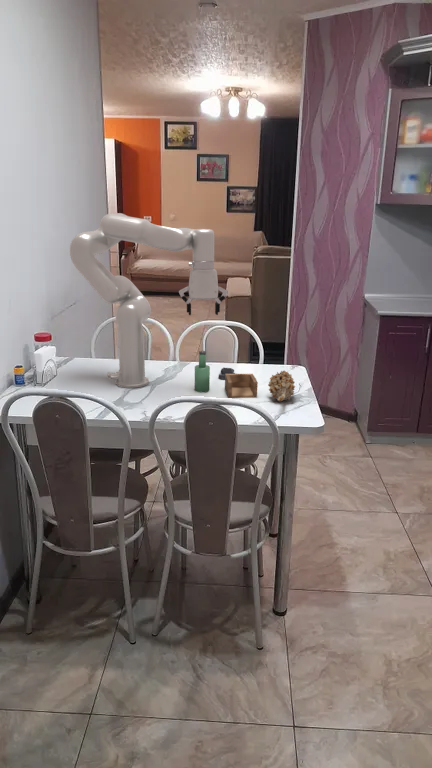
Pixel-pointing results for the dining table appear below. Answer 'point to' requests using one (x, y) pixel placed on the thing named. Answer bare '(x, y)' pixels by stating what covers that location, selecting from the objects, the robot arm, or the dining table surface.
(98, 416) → the dining table surface
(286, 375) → the pine cone
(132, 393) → the dining table surface
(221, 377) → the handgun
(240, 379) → the wooden square tray
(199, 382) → the bottle
